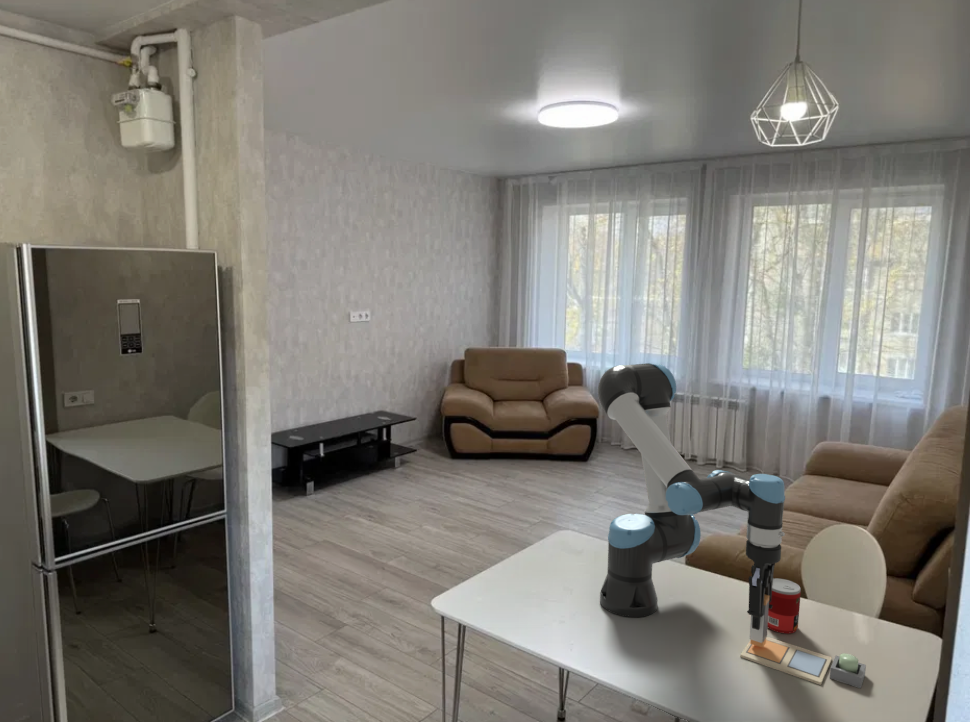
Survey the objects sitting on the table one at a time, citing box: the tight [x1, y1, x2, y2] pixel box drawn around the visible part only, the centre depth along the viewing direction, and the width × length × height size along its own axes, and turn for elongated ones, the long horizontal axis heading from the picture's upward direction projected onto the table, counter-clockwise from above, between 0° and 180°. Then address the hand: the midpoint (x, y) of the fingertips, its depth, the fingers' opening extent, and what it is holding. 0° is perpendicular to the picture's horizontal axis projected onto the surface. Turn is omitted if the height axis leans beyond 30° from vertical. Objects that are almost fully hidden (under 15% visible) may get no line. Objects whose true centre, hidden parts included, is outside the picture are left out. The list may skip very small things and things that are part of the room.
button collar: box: [829, 655, 867, 689], centre depth 145 cm, size 6×6×2 cm
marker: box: [749, 595, 770, 648], centre depth 155 cm, size 3×3×12 cm
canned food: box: [767, 577, 802, 635], centre depth 166 cm, size 8×8×11 cm
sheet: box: [739, 636, 833, 686], centre depth 152 cm, size 17×12×1 cm
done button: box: [839, 653, 859, 674], centre depth 145 cm, size 4×4×3 cm
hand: (758, 636), depth 156 cm, fingers closed on marker, 3 cm apart
